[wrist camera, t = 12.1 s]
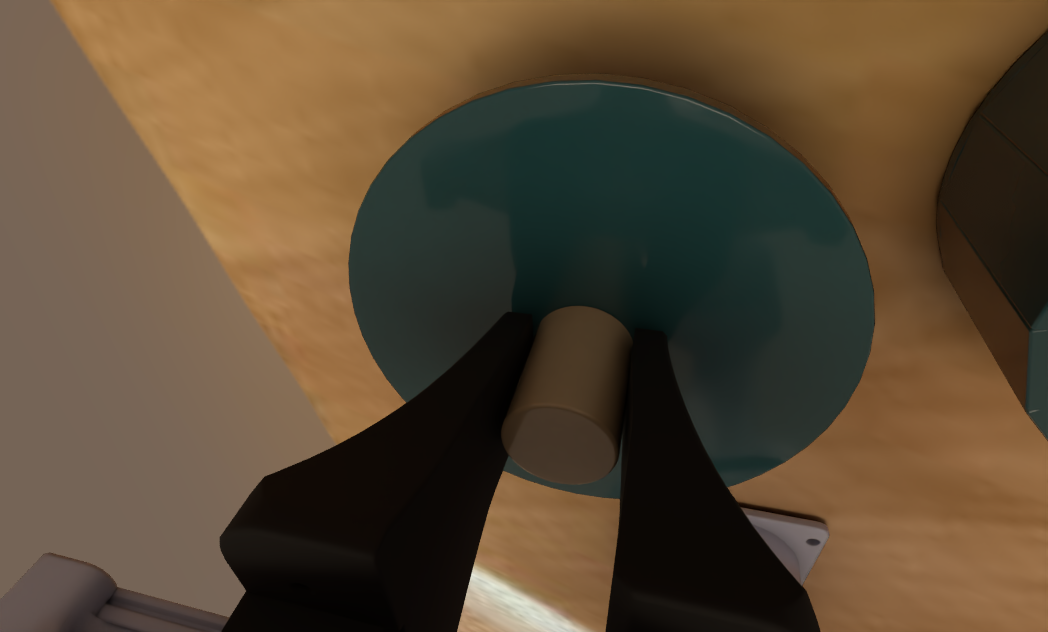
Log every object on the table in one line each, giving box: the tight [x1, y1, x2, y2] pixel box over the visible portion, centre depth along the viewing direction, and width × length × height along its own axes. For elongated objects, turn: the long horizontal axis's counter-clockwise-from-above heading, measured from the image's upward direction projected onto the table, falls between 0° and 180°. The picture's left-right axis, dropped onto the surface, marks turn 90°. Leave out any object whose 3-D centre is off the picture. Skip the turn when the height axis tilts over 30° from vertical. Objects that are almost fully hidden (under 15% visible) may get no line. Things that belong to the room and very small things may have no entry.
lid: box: [348, 73, 875, 499], centre depth 13 cm, size 12×12×4 cm
